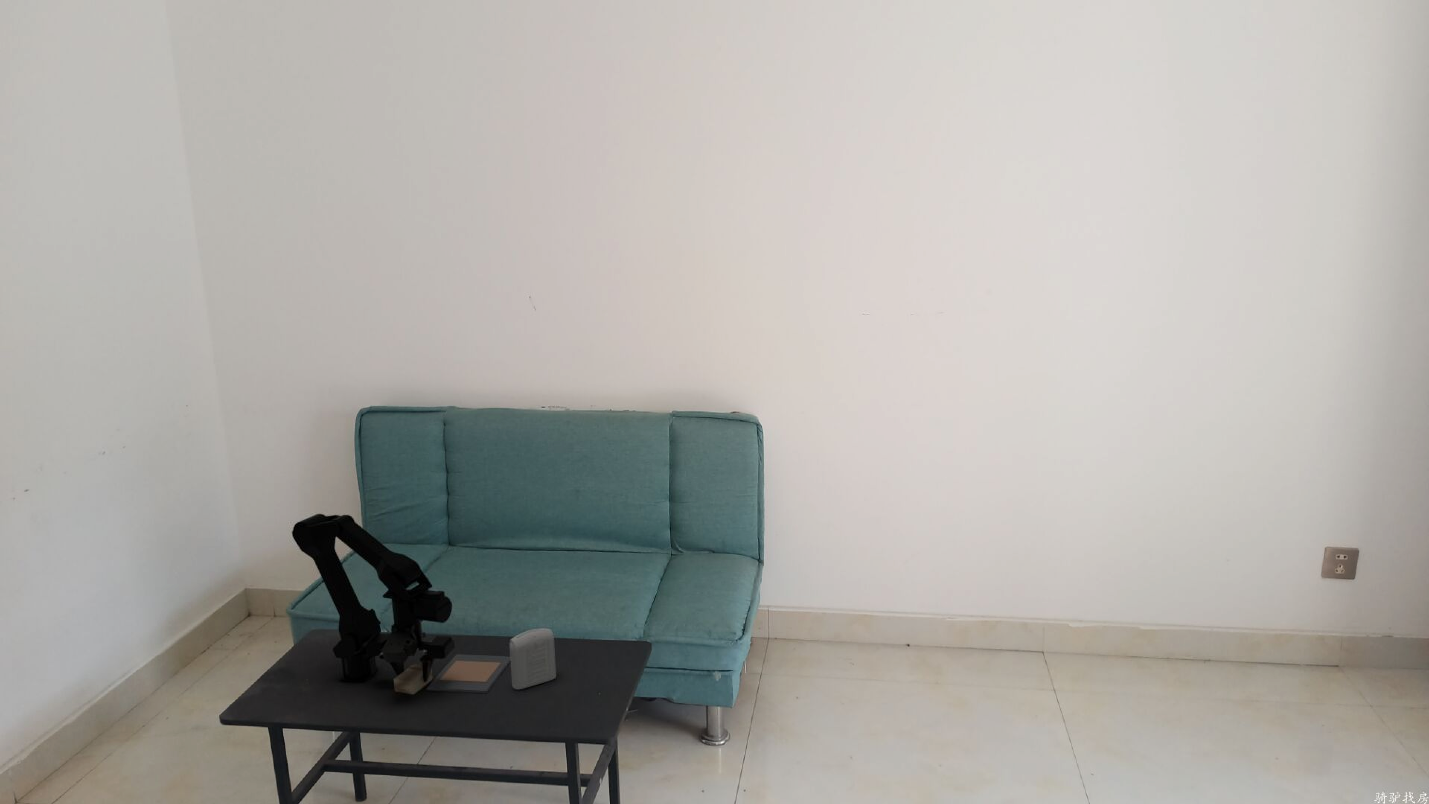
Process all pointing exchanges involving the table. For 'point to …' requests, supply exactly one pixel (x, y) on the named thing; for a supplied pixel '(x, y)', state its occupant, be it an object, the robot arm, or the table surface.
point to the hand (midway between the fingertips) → (413, 680)
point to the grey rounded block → (532, 658)
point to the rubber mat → (470, 673)
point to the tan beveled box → (411, 680)
